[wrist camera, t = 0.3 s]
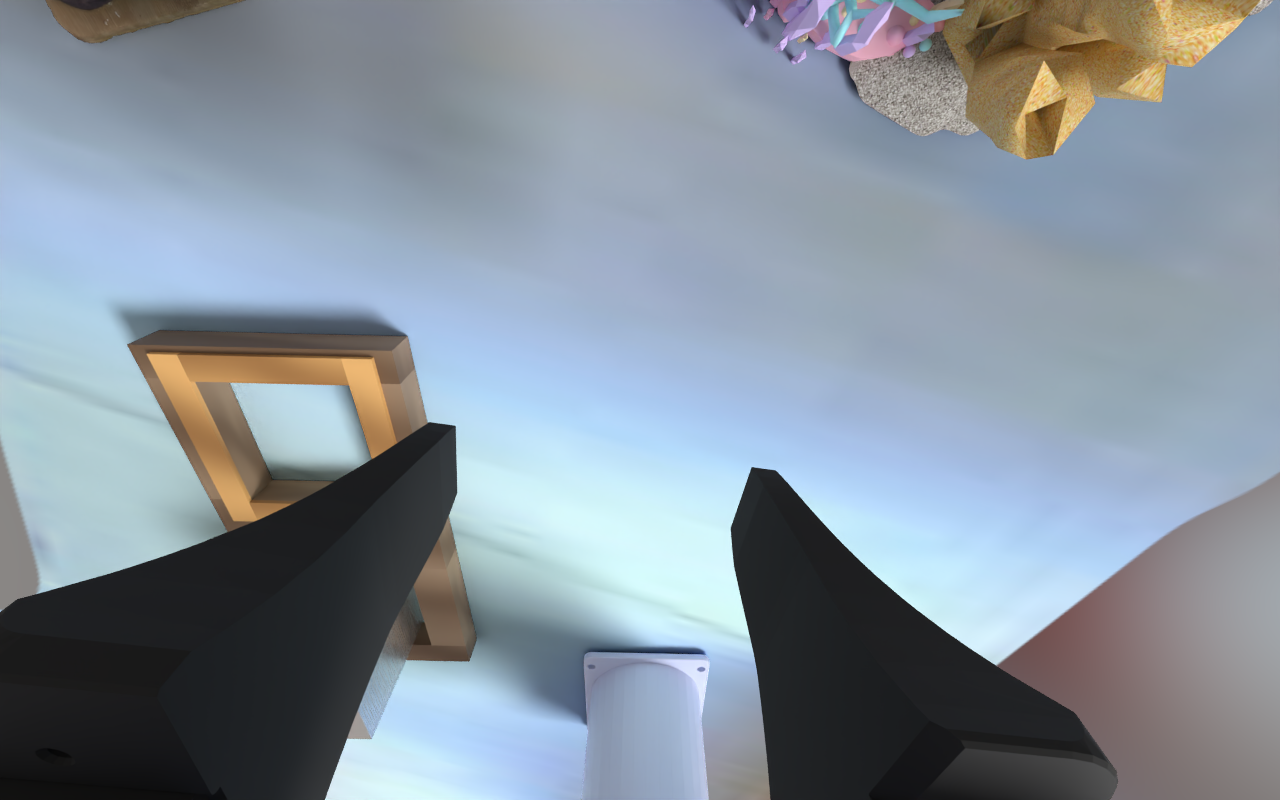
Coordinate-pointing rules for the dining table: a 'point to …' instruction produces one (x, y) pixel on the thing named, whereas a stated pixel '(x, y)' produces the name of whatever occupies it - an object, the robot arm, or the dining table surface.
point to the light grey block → (388, 668)
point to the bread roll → (123, 15)
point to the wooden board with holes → (234, 468)
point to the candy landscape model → (1008, 57)
